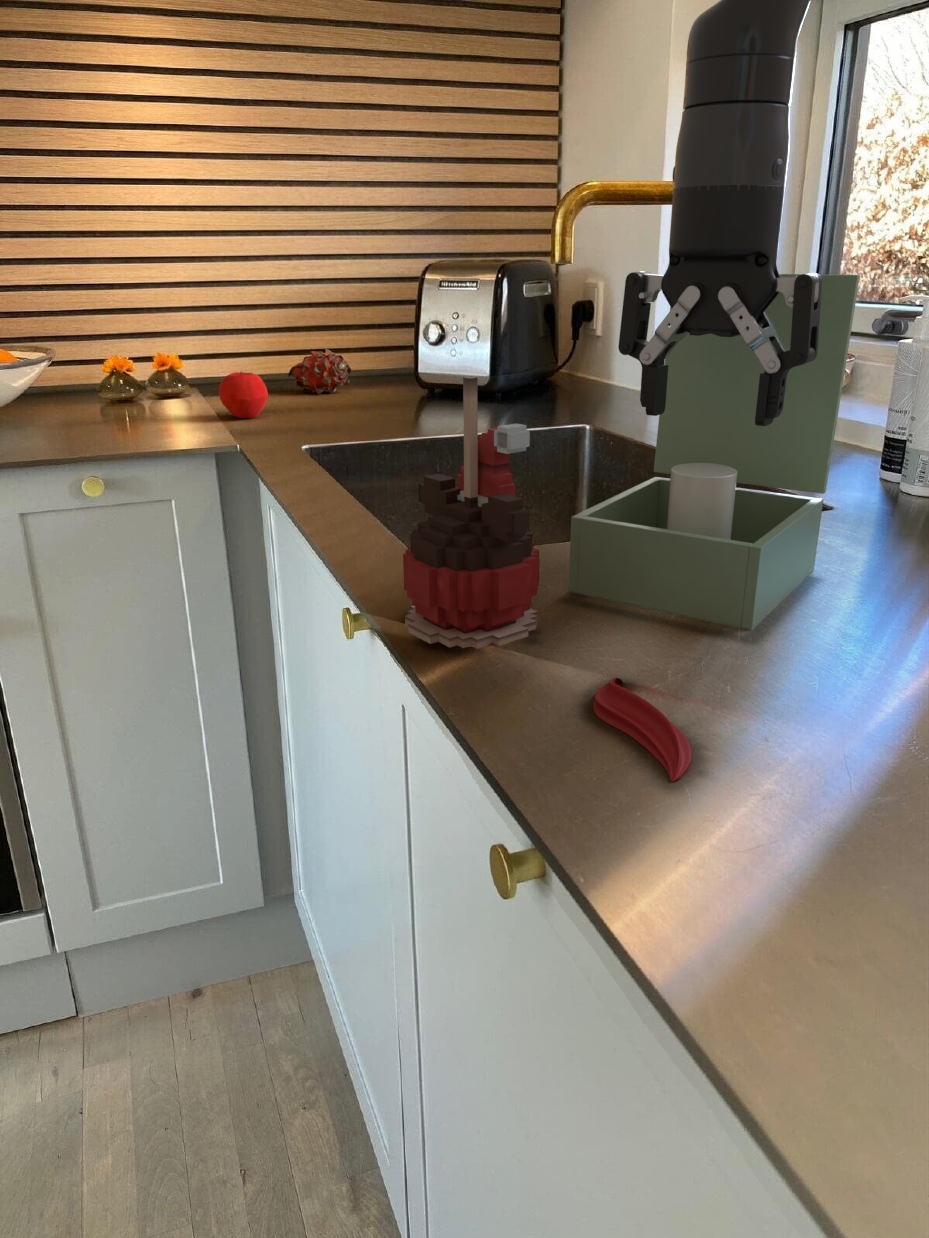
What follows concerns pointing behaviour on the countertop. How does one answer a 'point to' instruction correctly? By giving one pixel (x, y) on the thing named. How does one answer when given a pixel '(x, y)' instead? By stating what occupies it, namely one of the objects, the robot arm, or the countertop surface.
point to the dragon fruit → (321, 372)
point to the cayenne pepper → (644, 726)
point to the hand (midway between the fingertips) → (707, 419)
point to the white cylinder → (702, 499)
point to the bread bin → (695, 555)
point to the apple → (243, 394)
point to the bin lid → (727, 398)
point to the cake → (473, 545)
